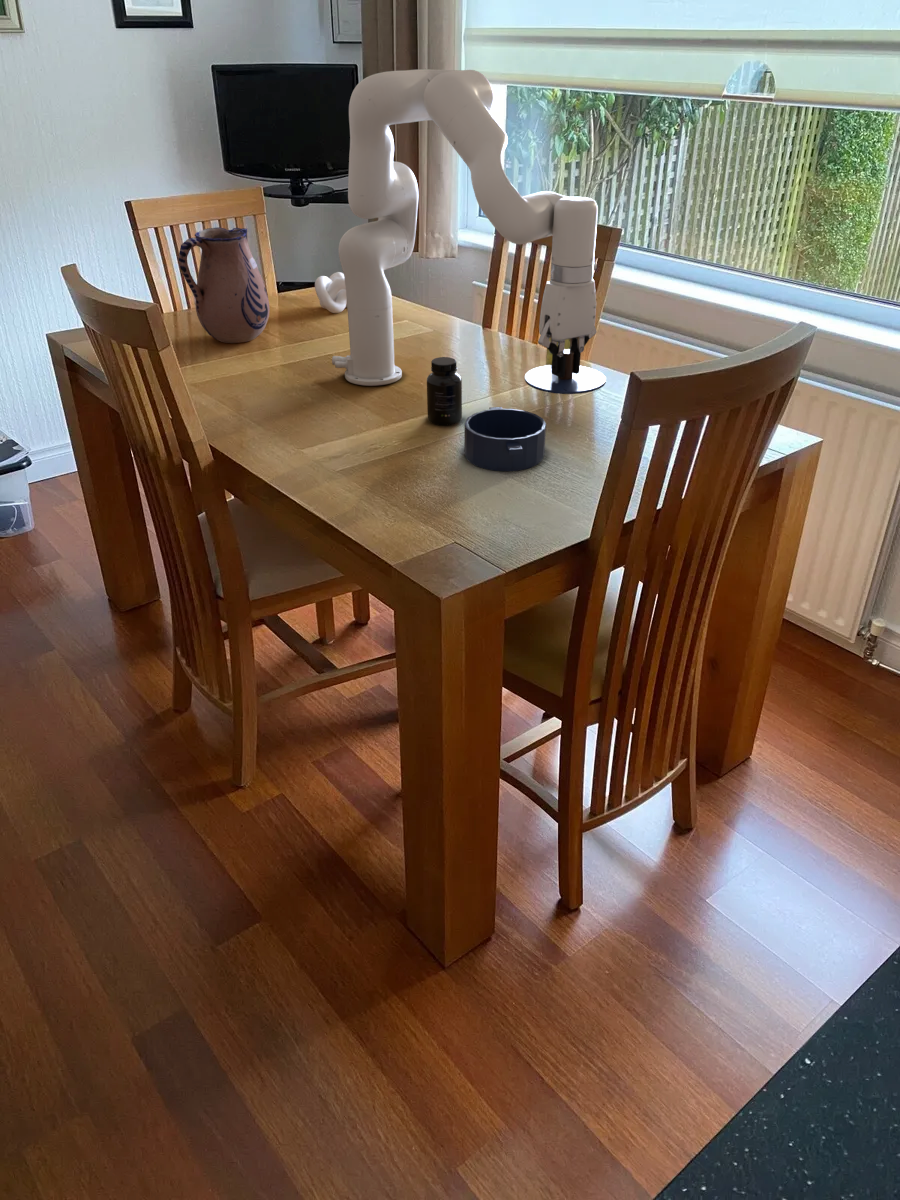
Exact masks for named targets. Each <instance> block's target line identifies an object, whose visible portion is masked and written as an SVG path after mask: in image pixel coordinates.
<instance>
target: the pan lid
mask: <svg viewBox="0 0 900 1200" xmlns="http://www.w3.org/2000/svg"><path fill="white" fill-rule="evenodd" d="M563 356H565V357H566V362H565V376H564V377H562V378H561V377H558V376H556V375H554V374H552V365H546V364H545V365H541V366H537V367H534V368H532V369H529V370H528V371H527V372H526V373H525V375H524V382H525V384H526V385H528V386H529V387H530V388H533V389H535V390H537V391H541V392H545V393H550V394H557V395H581V394H587V393H591V392H595V391H597V390H601V389H602V388H603V387H604V386H605V385H606V383H607V377H606V376H605V375H604V373H603V372H601V371H599V370H598V369H595V368H591V367H588V366H584V365H580V369H579V373H578V374H575V373H573V365H574V351H573V350H569V349H564V354H563Z"/></svg>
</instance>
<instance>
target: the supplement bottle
mask: <svg viewBox="0 0 900 1200" xmlns="http://www.w3.org/2000/svg"><path fill="white" fill-rule="evenodd" d="M430 364H431V366H430V367H431V368H430V371H431V373H429V374H428V376H427V378H426V405H427V406H426V407H427V408H426V409H427V411H426V412H427V419H428V422H429V423H431V424H433V425H435V426H439V427H449V426H454V425H457V424H459V423H460V422H461V421H462V418H463V383H462V382H463V379H462V376H461V375H460V374H459V373H458V372H457V371H458V367H457V360H456V359H455V358H453V357H450V356H439V357H435V358H432V359H431V362H430Z"/></svg>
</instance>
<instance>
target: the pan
mask: <svg viewBox="0 0 900 1200" xmlns="http://www.w3.org/2000/svg"><path fill="white" fill-rule="evenodd" d="M463 428H464V429H463V430H464V434H463V435H464V442H463V443H464V444H463V445H464V451H463V452H464V456H465V459H466V460H467V461H468V462H469V463H470V464H472V465H474V466H476V467H478V468H481V469H484V470H487V471H488V470H489V471H495V472H517V471H522V470H527V469H531V468H533V467H535V466H537V465H539V464H540V463H541V462H542V461H543V460H544V458H545V451H546V437H547V435H546V434H547V423H546V421H545V419H544V418H543V417H541V416H540V415H538V414H536V413H534V412H530V411H527V410H523V409H518V408H517V409H516V408H503V407H502V406H490V407H489V408H488V409H483V410H481V411H478V412H474V413H472V414H471V415H469V416H468V417H466V419H465V422H464V427H463Z"/></svg>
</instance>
